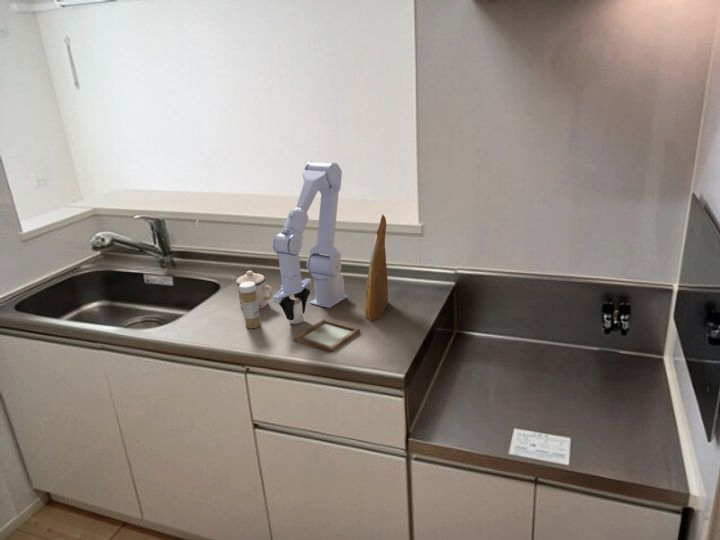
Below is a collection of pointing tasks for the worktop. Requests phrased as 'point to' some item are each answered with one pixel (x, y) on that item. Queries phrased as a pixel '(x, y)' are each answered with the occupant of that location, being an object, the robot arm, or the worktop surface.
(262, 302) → the teacup with lid
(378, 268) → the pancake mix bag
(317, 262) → the robot arm
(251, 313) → the sprinkles bottle
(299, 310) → the salt cellar
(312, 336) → the rest tray
